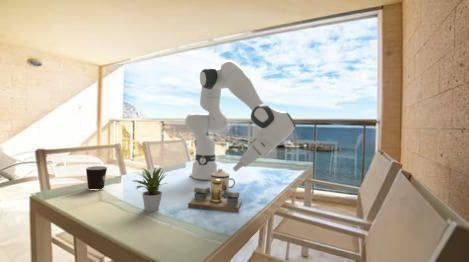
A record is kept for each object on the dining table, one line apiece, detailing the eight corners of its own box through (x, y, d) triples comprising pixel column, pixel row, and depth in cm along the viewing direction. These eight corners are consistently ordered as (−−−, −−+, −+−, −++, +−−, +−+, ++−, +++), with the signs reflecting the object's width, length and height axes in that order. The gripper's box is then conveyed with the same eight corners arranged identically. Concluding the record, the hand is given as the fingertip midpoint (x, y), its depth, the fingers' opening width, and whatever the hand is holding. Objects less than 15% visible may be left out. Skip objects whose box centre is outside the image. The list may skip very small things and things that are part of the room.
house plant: (141, 201, 104) (142, 162, 104) (174, 203, 104) (175, 163, 103) (125, 213, 90) (126, 168, 89) (163, 215, 90) (165, 170, 89)
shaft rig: (197, 198, 112) (197, 183, 112) (241, 202, 109) (242, 187, 109) (188, 207, 100) (188, 190, 100) (237, 212, 97) (238, 195, 97)
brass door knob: (212, 198, 107) (212, 177, 107) (223, 199, 106) (224, 178, 106) (209, 202, 102) (210, 180, 102) (220, 203, 102) (221, 181, 101)
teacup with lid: (209, 195, 118) (210, 170, 117) (210, 189, 127) (211, 166, 126) (235, 196, 118) (236, 171, 118) (234, 190, 127) (235, 167, 127)
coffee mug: (95, 192, 113) (95, 170, 113) (80, 189, 116) (81, 168, 116) (115, 186, 124) (115, 166, 124) (101, 184, 127) (102, 164, 127)
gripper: (257, 138, 111) (234, 158, 113) (254, 141, 91) (226, 165, 93) (267, 148, 111) (244, 169, 112) (265, 154, 90) (237, 178, 92)
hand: (236, 167), depth 102 cm, fingers open, 8 cm apart
